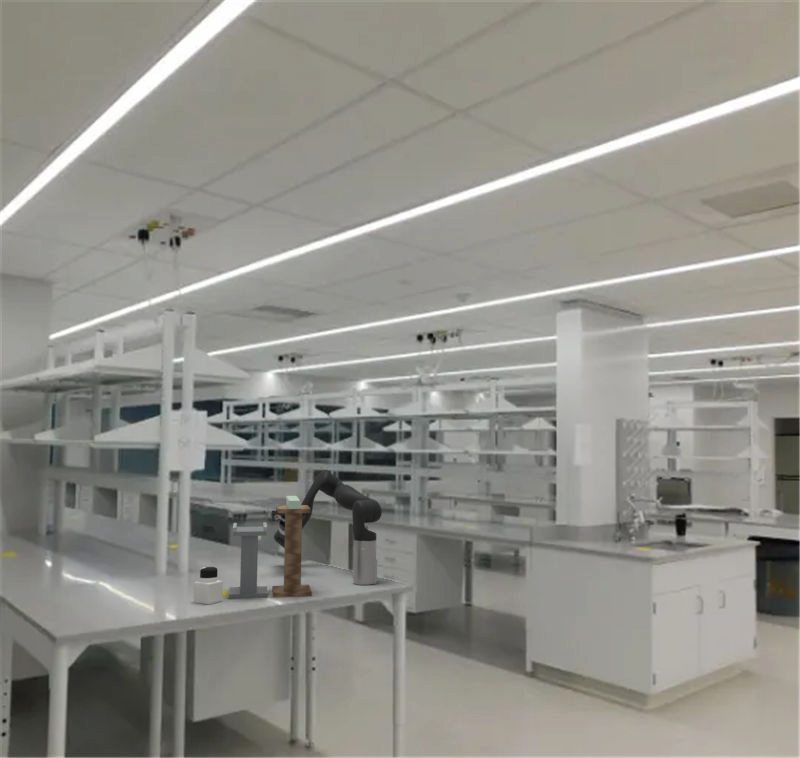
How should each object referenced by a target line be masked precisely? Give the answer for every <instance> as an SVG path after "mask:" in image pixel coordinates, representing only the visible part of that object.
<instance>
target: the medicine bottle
mask: <svg viewBox="0 0 800 758" xmlns="http://www.w3.org/2000/svg"><path fill="white" fill-rule="evenodd" d="M193 583H194V584H193V585H194V586H193V603H195V604H200V605H201V604H202V605H207V606H208V605H211V604H216V603H219V602H223V580H219V579H218V568H217V567H214V566H204V567H201V568H200V569H199V580H196V581H195V582H193Z"/></svg>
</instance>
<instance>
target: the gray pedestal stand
mask: <svg viewBox="0 0 800 758" xmlns="http://www.w3.org/2000/svg"><path fill="white" fill-rule="evenodd" d="M262 523H263V524H262V525H263V526H238V523H237V522H233V524H232V537H241V539H240V542H241V543H240V580H239V586H230V587H229V590H228V599H230V600H231V599H234V600H235V599H236V600H237V599H262V598H265V599H266V598H268V597H269V590H268V589H269V588H268V585H259V586H258V558H259V557H258V555H259V554H258V549H259V536H267V532H268V524H267V522H262Z"/></svg>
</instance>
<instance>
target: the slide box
mask: <svg viewBox="0 0 800 758" xmlns="http://www.w3.org/2000/svg"><path fill="white" fill-rule="evenodd" d="M285 503H286V504H285V505H287V506H288V508H289V509H300V505H301V500H300V498H299V497H298V496H297V495H286V497H285Z"/></svg>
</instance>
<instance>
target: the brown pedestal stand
mask: <svg viewBox="0 0 800 758" xmlns="http://www.w3.org/2000/svg"><path fill="white" fill-rule="evenodd" d="M276 508H277V512H278V513H285V548H284V554H283V555H284V557H283V585H272V589H271V590H272V596H273V598H287V597H288V598H291V597H292V598H293V597H312V596H313V595H312V594H313V592H312V589H311V587H310V584H302V547H303V546H302V544H303V543H302V542H303V540H302V539H303V537H302V536H303V529H302V513H311V509H310V507H309V506H308V505H301V504H300V509H289V508H288V506H287V504H284V505H282V504H281V505H280V504H279V505H276Z"/></svg>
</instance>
